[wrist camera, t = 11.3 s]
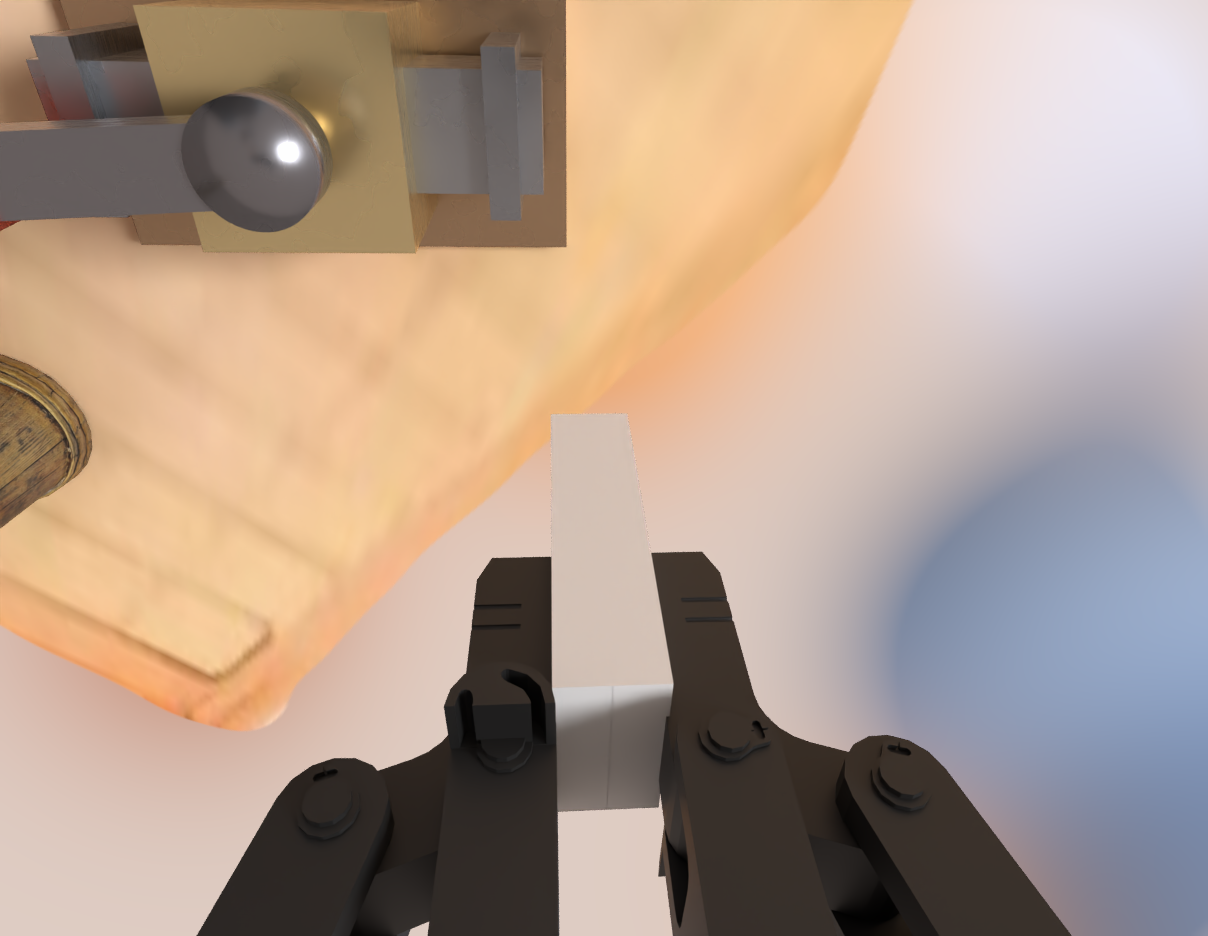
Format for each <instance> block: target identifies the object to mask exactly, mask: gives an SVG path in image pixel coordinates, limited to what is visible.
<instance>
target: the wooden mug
mask: <svg viewBox="0 0 1208 936" xmlns="http://www.w3.org/2000/svg"><path fill="white" fill-rule="evenodd" d="M91 451H92V440H91V431H90V429H89V426H88V424H87V421H86V419H85V417H84V414H83V412H82V411H81V410H80V408H79V407H78V406H77V404H76V403H75V402H74V400H73V399H72V397H71V396H70V395H69V394H68V393H67V392H66V391H65V390H64V389H63V388H62V387H61V386H59V385H58V384H57V383H56V382H55V381H54V380H53V379H52V378H50V377H49V376H47V375H45V374H44V373H42V372H40V371H38V370H37V369H35V368H33V367H32V366H30V365H28V364H25V363H22V362H20V361H17V360H14V359H12V358H9V357H6V356H4V355H0V528H2V527H3V526H4V525H5V524H7V523H8V522H9V521H11V520H12V519H13V518H14V517H16V516H17V515H18V514H20V513H21V512H22V511H23V510H25V509H26V508H27V507H28V506H30V505H31V504H32V503H34V502H35V501H36V500H37V499H40V498H43V497H46V496H49V495H50V494H52V493H53V492H55V491H56V490H58V489H59V488H61V487H62V486H63V485H65V484H66V483H68V482H69V481H70V480H72V479H73V478H74V477H76V476H77V475H78V474H79V473H80V472H81V471H82V469H83V468H84V467H85V466H86V465H87V463H88V460H89V457H90V454H91Z"/></svg>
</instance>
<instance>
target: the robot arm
mask: <svg viewBox="0 0 1208 936" xmlns="http://www.w3.org/2000/svg"><path fill="white" fill-rule="evenodd" d="M551 535H552V536H551V539H552V540H551V542H552V543H551V548H552V551H551V552H552V557H523V558H492V559H491V561H490V562H489V564H488V565H487V566H486V568H485V569H484V571H483V572H482V574H481V575H480V576H479V578H478V579H477V584H476V593H475V602H474V611H473V619H472V631H471V636H470V637H471V638H470V645H469V654H468V662H467V671H466V674H464V675H463V676H462V677H461V678H460V679H459V680H458V682H457V683H456V684H455V685H454V686H453V687H452V688H451V689H450V692H449V694H448V697H447V700H446V702H445V705H444V710H445V717H446V723H447V729H448V736H447V737H446V738H445V739H444V740H443V741H442V742H441V743H440V744H439V745H437V746H436V747H434V748H433V749H432V750H430V751H429V752H427V753H425V754H423V755H421V756H418V757H416V758H414V759H412V760H409V761H406V762H403V763H400V764H397V765H394V766H391V767H388V768H385V769H382V770H379V771H377V770H376V769H375V767H373V765H370V764H368V763H366V762H363V761H361V760H358V759H356V758H334V759H331V760H328V761H325V762H322V763H318V764H316V765H312V766H311V767H309V768H308V769H306V770H305V771H304V772H302V773H301V774H300V775H298V776H296V777H295V778H293V779H292V780H291V781H290V782H289V784H288V785H287V786H286V787H285V789H284V790H283V791H282V792H281V794H280V795H279V796H278V797H277V799H276V800H275V802H274V804H273V806H272V807H271V809H270V811H269V812H268V814H267V816H266V818H265V819H264V821H263V823H262V824H261V826H260V828H259V830H258V831H257V833H256V835H255V836H254V838H253V840H252V842H251V843H250V845H249V847H248V848H247V850H246V852H245V854H244V856H243V857H242V859H241V861H240V862H239V864H238V866H237V868H236V869H235V871H234V872H233V874H232V876H231V878H230V879H229V881H228V883H227V885H226V886H225V888H224V890H223V891H222V893H221V895H220V897H219V899H218V900H217V902H216V903H215V905H214V907H213V909H212V910H211V912H210V914H209V916H208V917H207V919H206V921H205V922H204V924H203V926H202V928H201V929H200V931H199V933H198V935H197V936H408V935H409V932H410V929H412V928H414V927H417V926H419V925H421V924H424V923H426V922H429V929H428V936H559V880H558V812H561V811H562V812H563V811H584V810H607V809H630V808H654V807H659V799H660V794H661V801H662V809H663V816H664V831H663V838H662V847H661V854H660V861H659V875H658V876H666V883H667V891H668V899H669V907H670V915H671V923H672V931H673V936H1071V934H1070V933H1069V932H1068V930H1067V929H1066V928H1065V926H1064V925H1063V924H1062V922H1061V921H1060V920H1059V918H1058V917H1057V916H1056V914H1055V913H1054V912H1053V911H1052V909H1051V908H1050V907H1049V905H1048V904H1047V902H1046V901H1045V900H1044V899H1043V897H1042V896H1041V895H1040V893H1039V892H1038V891H1037V889H1036V888H1035V887H1034V885H1033V884H1032V883H1031V881H1030V880H1029V879H1028V877H1027V876H1026V875H1025V873H1024V872H1023V871H1022V869H1021V868H1020V867H1019V865H1018V864H1017V863H1016V862H1015V860H1014V859H1013V857H1012V856H1011V855H1010V854H1009V852H1008V851H1007V850H1006V848H1005V847H1004V846H1003V844H1002V843H1001V842H1000V840H999V839H998V838H997V836H996V835H995V834H994V832H993V831H992V830H991V828H990V827H989V826H988V824H987V823H986V822H985V820H984V819H983V818H982V817H981V815H980V814H979V812H978V811H977V810H976V809H975V807H974V806H973V804H972V803H971V802H970V801H969V799H968V798H967V797H966V795H965V794H964V793H963V791H962V790H961V789H960V787H959V786H958V785H957V783H956V782H955V781H954V779H953V778H952V777H951V776H950V774H949V773H948V771H947V770H946V769H945V768H944V767H943V766H942V765H941V764H940V763H939V762H938V761H937V760H936V759H935V758H934V757H933V756H932V755H931V754H930V753H929V752H928V751H926V750H925V749H923V748H921V747H919V746H918V745H916V744H914V743H912V742H911V741H909V740H905V739H901V738H897V737H894V736H889V735H881V736H868V737H867V738H865V739H863V740H861V741H859V742H857V743H855V744H854V745H853V746H852V748H851V750H850V751H849V752H846V751H842V750H838V749H835V748H831V747H826V746H823V745H819V744H815V743H811V742H808V741H805V740H802V739H800V738H797V737H794V736H792V735H791V734H789V733H787V732H785V731H784V730H782V729H780V728H779V727H778V726H777V725H776V724H774V723H773V722H772V721H771V720H770V719H769V718H768V717H767V716H766V715H765V714H764V712H763V711H762V709H761V708H760V707H759V705H758V703H757V700H756V698H755V696H754V693H753V690H752V686H751V682H750V679H749V675H748V671H747V668H746V664H745V661H744V657H743V653H742V650H741V646H740V643H739V639H738V636H737V632H736V629H735V625H734V622H733V621H732V614H731V610H730V607H729V603H728V602H727V596H726V593H725V589H724V585H723V582H722V578H721V575H720V572H719V571H718V570H717V569H716V567H715V566H714V565H713V564H712V563H711V562H710V560H709V559H708V558H707V557H706V556H705V555H704V554H703V552H670V553H669V552H668V553H651V550H650V544H649V538H648V532H647V526H646V520H645V515H644V509H643V503H642V498H641V491H640V486H639V480H638V474H637V468H636V462H635V457H634V450H633V445H632V439H631V433H630V428H629V421H628V415H627V414H551Z"/></svg>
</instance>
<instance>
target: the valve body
mask: <svg viewBox="0 0 1208 936" xmlns="http://www.w3.org/2000/svg"><path fill="white" fill-rule="evenodd" d="M60 2H61V5H62V8H63V11H64V14H65V17H66V20H67V23H68V26H69V29H70V30H64V31H57V32H50V33H44V34H37V35H30V37H31V40H32V43H33V46H34V48H35V51H36V54H37V57H35V58H30V59H26V61H27V64H28V67H29V70H30V72H31V75H32V78H33V80H34V83H35V86H36V88H37V91H38V94H39V97H40V99H41V102H42V105H43V107H44V110H45V113H46V115H47V118H48V121H58V120H81V119H105V118H128V117H151V116H174V115H192V114H193V113H194V112H195V111H196V110H197V109H198V108H199V107H201V106H202V105H203V104H205V103H207V102H209V101H211V100H213V99H216V98H218V97H220V96H223V95H225V94H228V93H230V92H232V91H235V90H237V89H241V88H245V87H264V88H270V89H273V90H277V91H279V92H282V93H284V94H286V95H288V96H290V97H291V98H293V99H295V100H296V101H297V102H299V103H300V104H301V105H303V106H304V107H305V108H306V109H307V110H308V111H309V112H310V113H311V114H312V115H313V116H314V118H315V119H316V120H317V122H318V123H319V124H320V126H321V127H322V129H323V131H324V133H325V135H326V137H327V140H328V142H329V145H330V149H331V153H332V159H333V171H332V178H331V182H330V185H329V187H328V190H327V191H326V193H325V195H324V196H323V197H322V199H321V200H320V201H319V202H318V203H317V204H316V205H315V206H314V207H313V208H312V209H311V210H310V212H309V213H308V214H307V215H306V216H305V217H304V218H303V219H302V220H300V221H299V222H298V223H297V224H295V225H293V226H292V227H289V228H287V229H285V230H281V231H277V232H256V231H250V230H247V229H243V228H241V227H238V226H235V225H233V224H231V223H229V222H228V221H226V220H224V219H223V218H221V217H220V216H218V215H217V214H216V213H215V212H213V211H207V212H186V213H165V214H144V215H132V218H133V221H134V224H135V227H136V230H137V233H138V236H139V239H140V242H141V245H202V248H203V252H276V253H416V252H417V249H418V247H419V246H459V247H566V0H60ZM129 216H131V215H123V216H102V217H129Z"/></svg>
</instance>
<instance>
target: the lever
mask: <svg viewBox="0 0 1208 936" xmlns="http://www.w3.org/2000/svg"><path fill="white" fill-rule="evenodd" d="M332 171H333V159H332V153H331V149H330V145H329V142H328V140H327V137H326V135H325V133H324V131H323V129H322V127H321V126H320V124H319V123H318V122H317V120H316V119H315V118H314V116H313V115H312V114H311V113H310V112H309V111H308V110H307V109H306V108H305V107H304V106H303V105H301V104H300V103H299V102H297V101H296V100H295V99H293V98H291V97H290V96H288V95H286V94H284V93H282V92H279V91H277V90H273V89H270V88H264V87H245V88H241V89H237V90H235V91H232V92H230V93H228V94H225V95H223V96H220V97H218V98H216V99H213V100H211V101H209V102H207V103H205V104H203V105H202V106H201V107H199V108H198V109H197V110H196V111H195V112H194V113H193V114H192V115H174V116H151V117H128V118H105V119H81V120H58V121H35V122H12V123H0V231H1V230H3V229H5V228H7V227H9V226H11V225H13V224H15V223H17V222H19V221H21V220H38V219H59V218H81V217H102V216H123V215H144V214H165V213H186V212H207V211H213V212H215V213H216V214H217V215H218V216H220V217H221V218H223V219H224V220H226V221H228V222H229V223H231V224H233V225H235V226H238V227H241V228H243V229H247V230H250V231H256V232H277V231H281V230H285V229H287V228H289V227H292V226H293V225H295V224H297V223H298V222H299V221H300V220H302V219H303V218H304V217H305V216H306V215H307V214H308V213H309V212H310V210H311V209H312V208H313V207H314V206H315V205H316V204H317V203H318V202H319V201H320V200H321V199H322V197H323V196H324V195H325V193H326V191H327V190H328V187H329V185H330V182H331V178H332Z"/></svg>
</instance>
